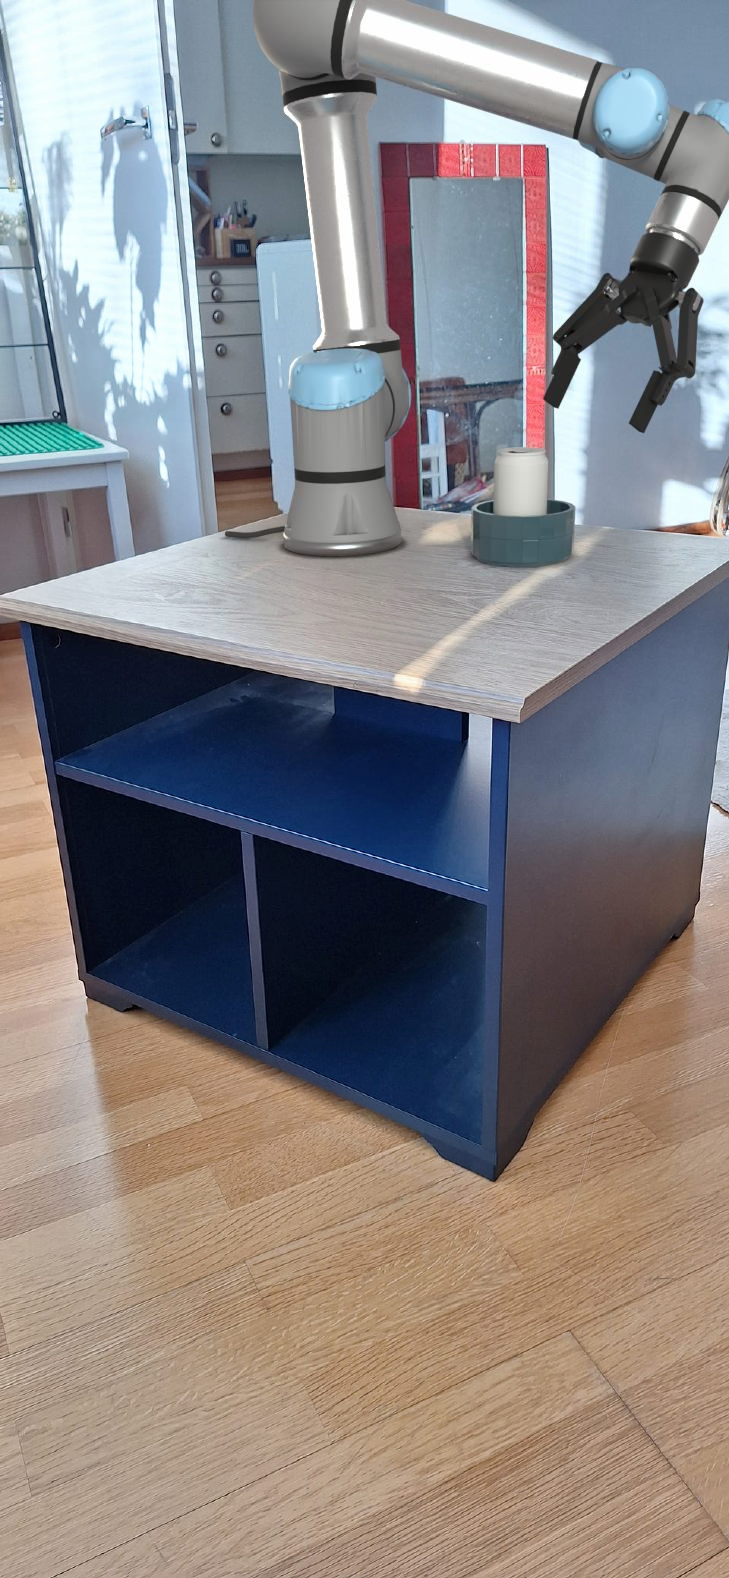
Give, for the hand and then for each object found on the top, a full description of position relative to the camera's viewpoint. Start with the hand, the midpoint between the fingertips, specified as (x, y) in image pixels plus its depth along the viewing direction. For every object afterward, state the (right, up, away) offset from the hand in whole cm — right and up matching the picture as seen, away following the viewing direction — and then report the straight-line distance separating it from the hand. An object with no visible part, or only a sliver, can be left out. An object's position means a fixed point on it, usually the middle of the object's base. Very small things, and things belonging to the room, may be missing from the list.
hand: (591, 416), depth 136 cm
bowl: (-9, -17, -1) cm, 20 cm away
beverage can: (-9, -17, -1) cm, 19 cm away
